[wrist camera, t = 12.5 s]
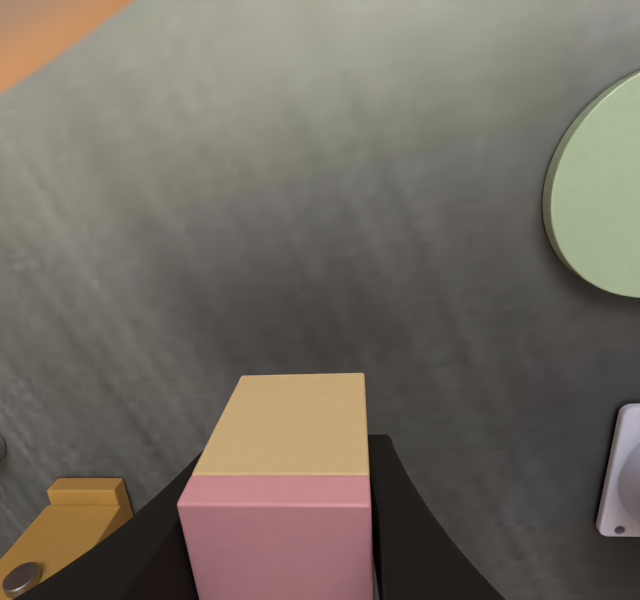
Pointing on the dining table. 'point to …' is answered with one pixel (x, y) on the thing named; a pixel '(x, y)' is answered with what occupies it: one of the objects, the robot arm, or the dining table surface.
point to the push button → (2, 448)
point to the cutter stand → (64, 531)
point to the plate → (599, 191)
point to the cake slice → (284, 493)
